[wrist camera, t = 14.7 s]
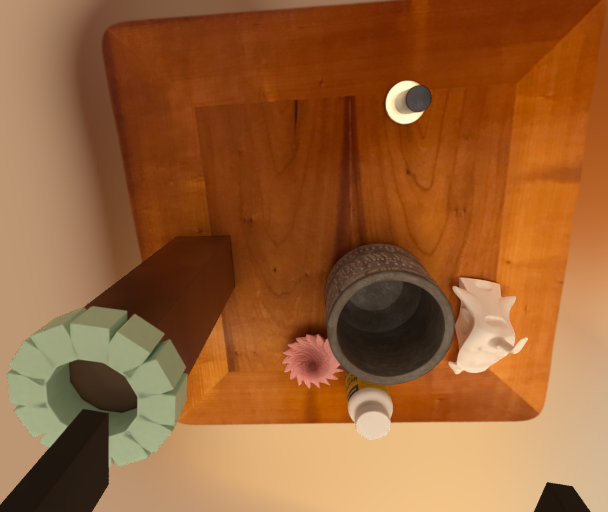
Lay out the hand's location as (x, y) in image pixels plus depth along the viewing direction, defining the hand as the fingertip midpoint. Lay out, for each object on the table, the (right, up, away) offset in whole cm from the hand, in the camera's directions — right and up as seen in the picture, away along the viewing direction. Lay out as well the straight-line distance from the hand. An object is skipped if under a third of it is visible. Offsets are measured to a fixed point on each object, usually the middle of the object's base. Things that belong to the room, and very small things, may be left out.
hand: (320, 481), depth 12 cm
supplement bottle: (+8, -9, +42) cm, 44 cm away
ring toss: (+10, +24, +31) cm, 40 cm away
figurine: (+20, -2, +39) cm, 44 cm away
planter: (+8, +4, +38) cm, 39 cm away
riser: (-13, +6, +38) cm, 40 cm away
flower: (+1, -5, +41) cm, 41 cm away
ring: (-14, -1, +15) cm, 20 cm away
